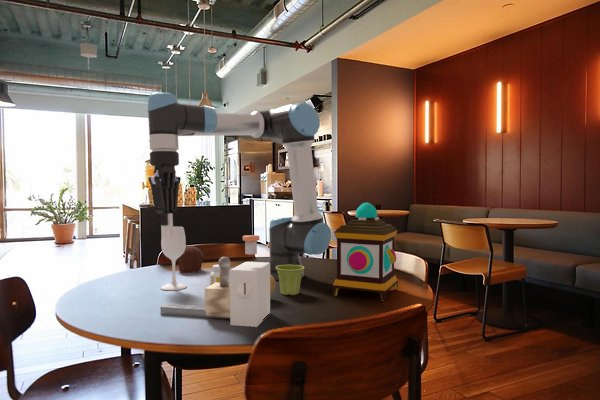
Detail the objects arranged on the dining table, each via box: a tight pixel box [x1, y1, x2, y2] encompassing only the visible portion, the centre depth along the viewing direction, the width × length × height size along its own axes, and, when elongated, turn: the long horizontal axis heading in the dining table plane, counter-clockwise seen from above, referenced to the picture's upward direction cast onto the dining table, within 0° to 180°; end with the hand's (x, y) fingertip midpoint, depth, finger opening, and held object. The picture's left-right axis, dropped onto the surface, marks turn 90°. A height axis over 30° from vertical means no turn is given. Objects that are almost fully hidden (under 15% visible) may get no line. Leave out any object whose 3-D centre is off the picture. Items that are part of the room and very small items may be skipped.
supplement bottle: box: [209, 263, 220, 286], centre depth 132 cm, size 5×5×10 cm
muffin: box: [177, 245, 205, 274], centre depth 172 cm, size 12×11×10 cm
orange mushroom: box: [242, 234, 260, 255], centre depth 108 cm, size 4×4×5 cm
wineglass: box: [160, 226, 188, 291], centre depth 142 cm, size 9×9×21 cm
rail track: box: [159, 303, 230, 320], centre depth 112 cm, size 22×3×2 cm, turn 78°
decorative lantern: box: [332, 202, 399, 301], centre depth 136 cm, size 20×20×30 cm
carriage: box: [204, 256, 231, 317], centre depth 110 cm, size 8×7×15 cm
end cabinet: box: [229, 261, 271, 328], centre depth 108 cm, size 7×13×14 cm, turn 168°
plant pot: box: [276, 265, 305, 296], centre depth 135 cm, size 9×9×9 cm
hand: (167, 237), depth 113 cm, fingers closed
